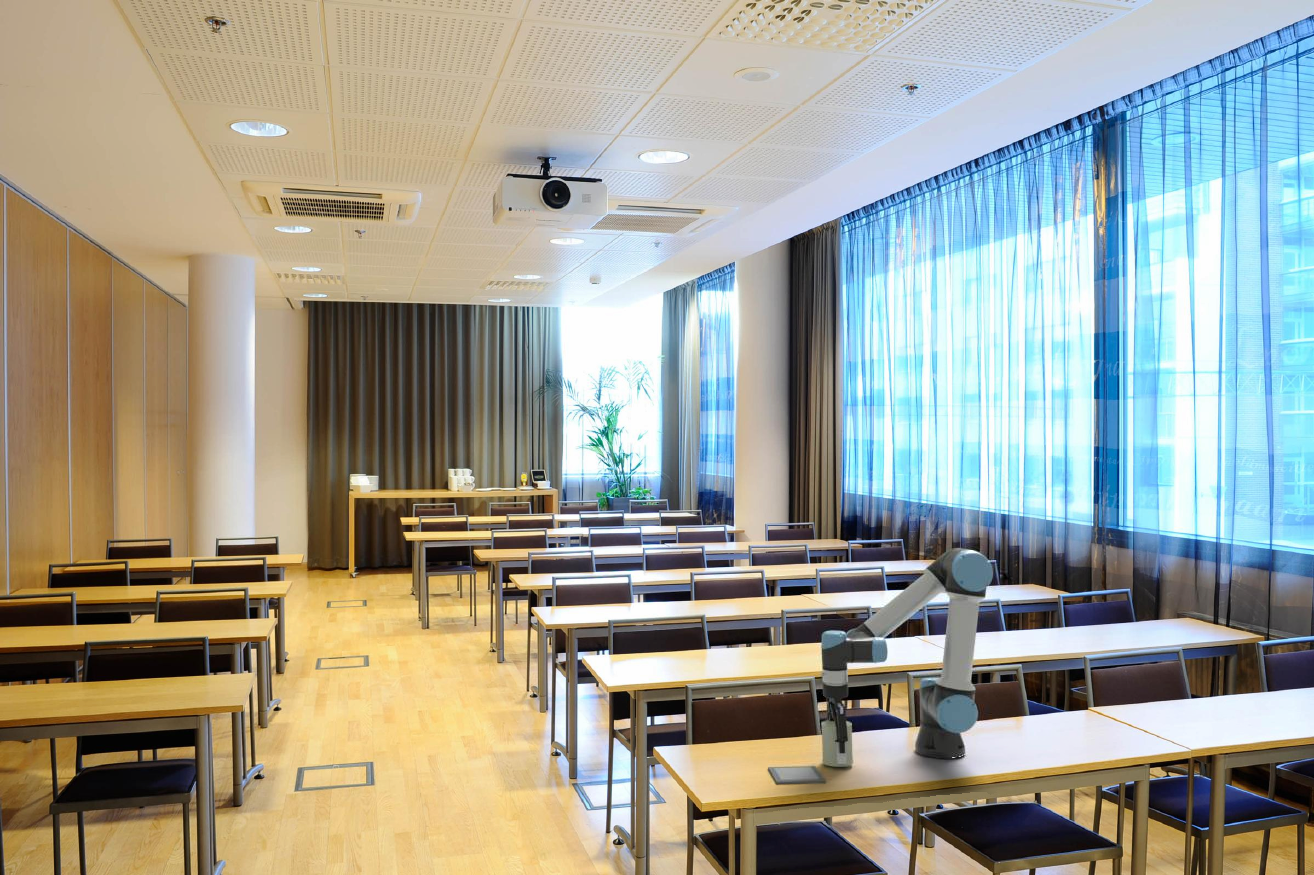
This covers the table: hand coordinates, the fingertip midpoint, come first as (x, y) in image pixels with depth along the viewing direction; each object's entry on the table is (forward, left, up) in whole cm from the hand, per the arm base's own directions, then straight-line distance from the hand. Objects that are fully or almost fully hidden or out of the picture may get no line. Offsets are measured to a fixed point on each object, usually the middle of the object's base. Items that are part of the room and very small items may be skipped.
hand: (837, 758), depth 283 cm
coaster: (+14, +9, -2) cm, 17 cm away
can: (0, 0, -1) cm, 1 cm away
